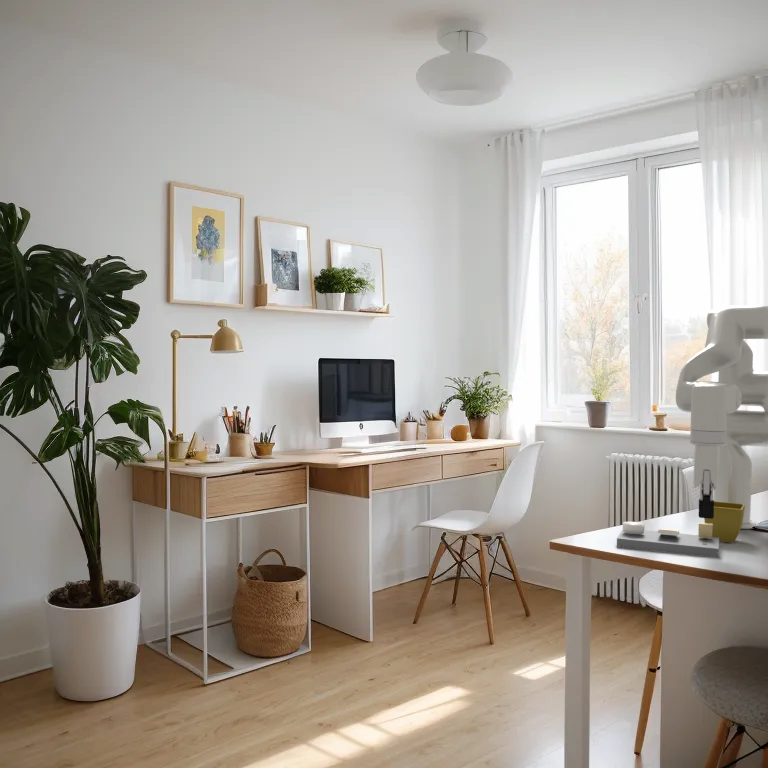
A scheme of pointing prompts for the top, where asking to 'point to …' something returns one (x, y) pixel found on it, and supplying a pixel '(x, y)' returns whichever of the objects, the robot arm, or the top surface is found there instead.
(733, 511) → the flower pot
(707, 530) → the cream small block
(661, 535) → the switch panel
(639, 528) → the push button
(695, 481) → the robot arm
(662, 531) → the rocker
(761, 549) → the top surface
